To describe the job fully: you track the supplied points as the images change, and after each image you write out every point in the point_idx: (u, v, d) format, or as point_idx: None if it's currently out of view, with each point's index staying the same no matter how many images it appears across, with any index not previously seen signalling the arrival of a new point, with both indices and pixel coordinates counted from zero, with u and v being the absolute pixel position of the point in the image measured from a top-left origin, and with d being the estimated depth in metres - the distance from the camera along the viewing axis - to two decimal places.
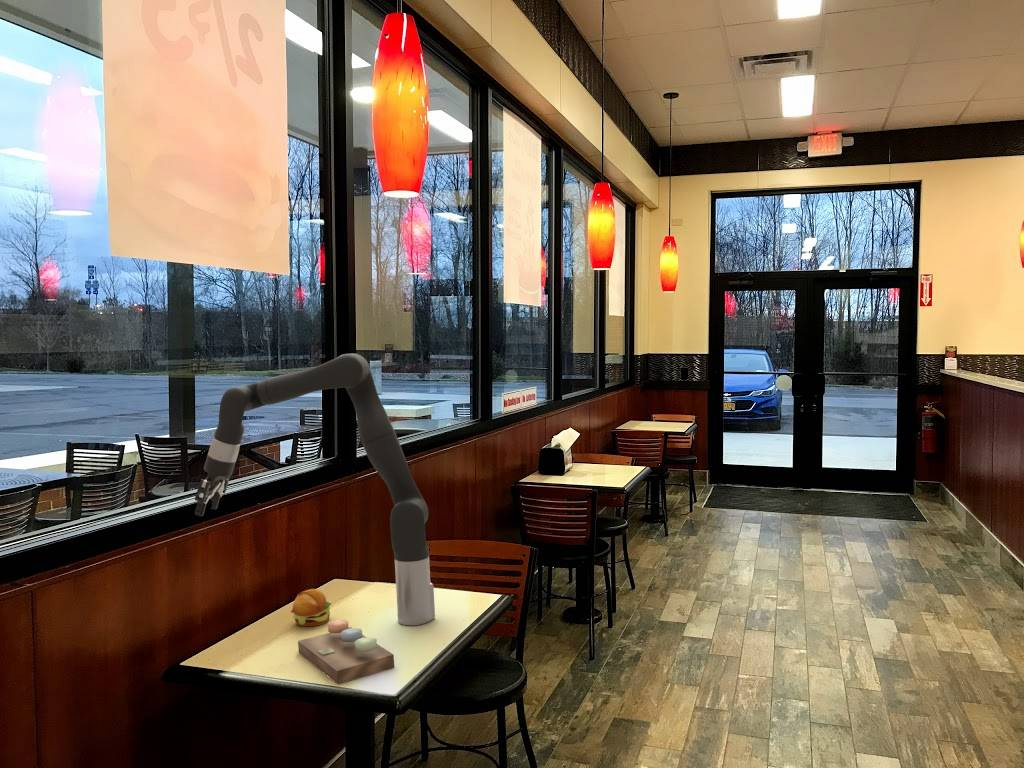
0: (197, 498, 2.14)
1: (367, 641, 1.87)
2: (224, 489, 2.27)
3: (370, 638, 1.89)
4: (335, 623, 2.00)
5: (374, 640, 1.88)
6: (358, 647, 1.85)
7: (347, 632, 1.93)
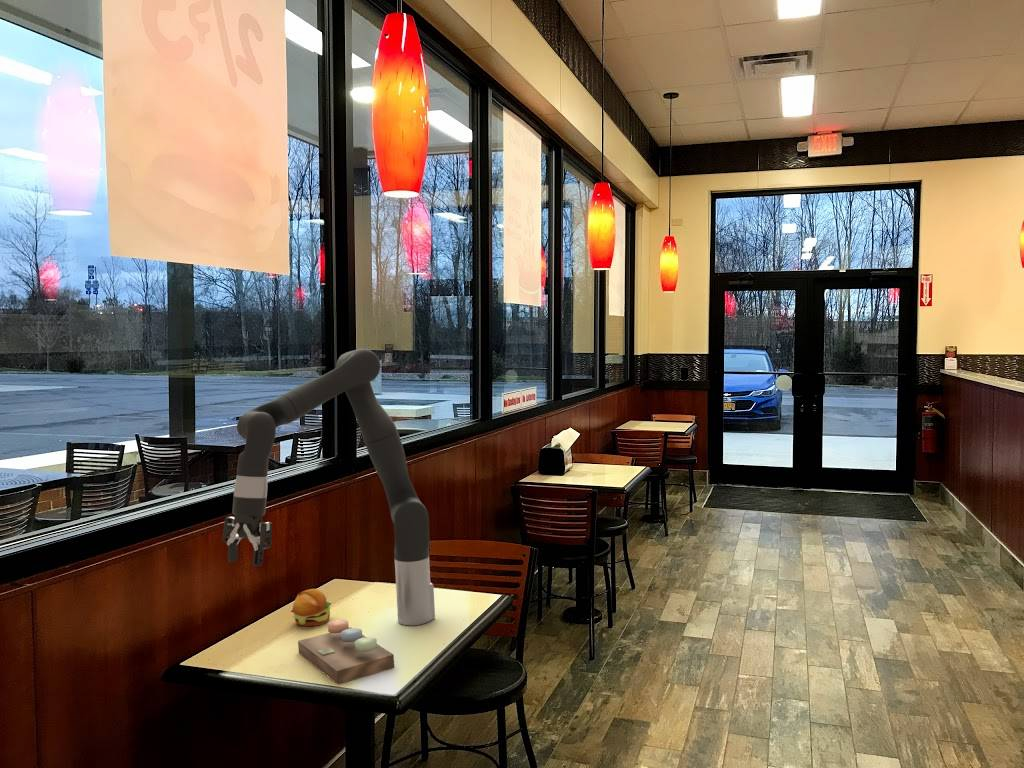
0: (265, 545, 1.88)
1: (367, 641, 1.87)
2: None
3: (370, 638, 1.89)
4: (335, 623, 2.00)
5: (374, 640, 1.88)
6: (358, 647, 1.85)
7: (347, 632, 1.93)
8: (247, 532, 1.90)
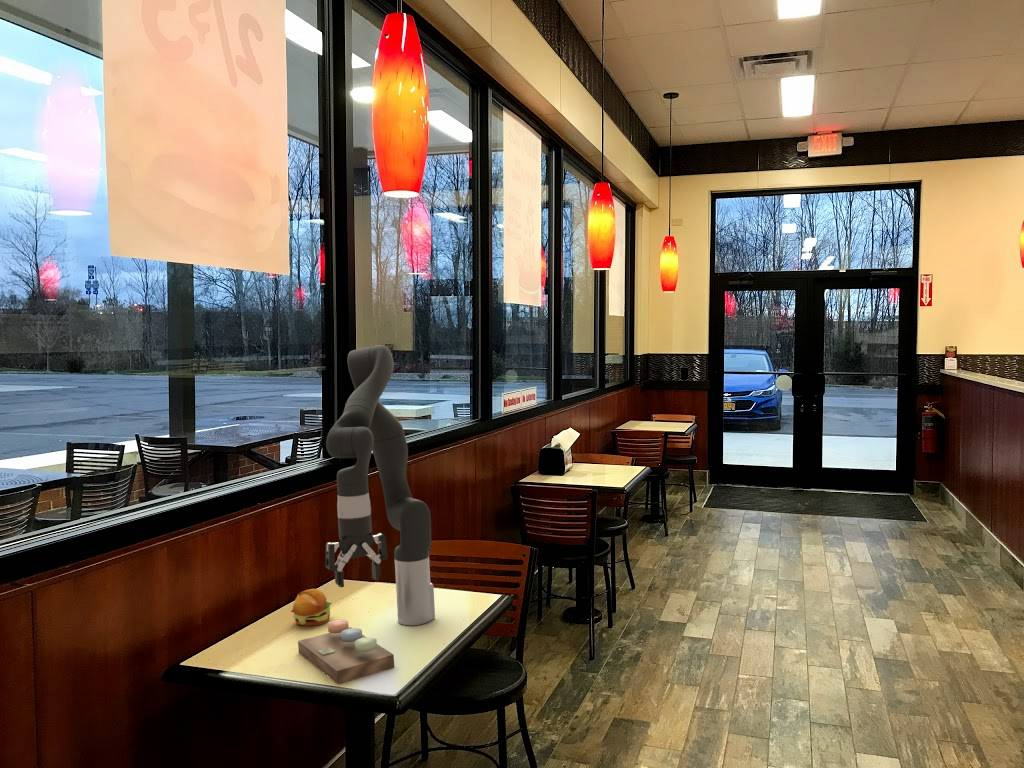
0: None
1: (367, 641, 1.87)
2: None
3: (370, 638, 1.89)
4: (335, 623, 2.00)
5: (374, 640, 1.88)
6: (358, 647, 1.85)
7: (347, 632, 1.93)
8: (367, 549, 1.86)
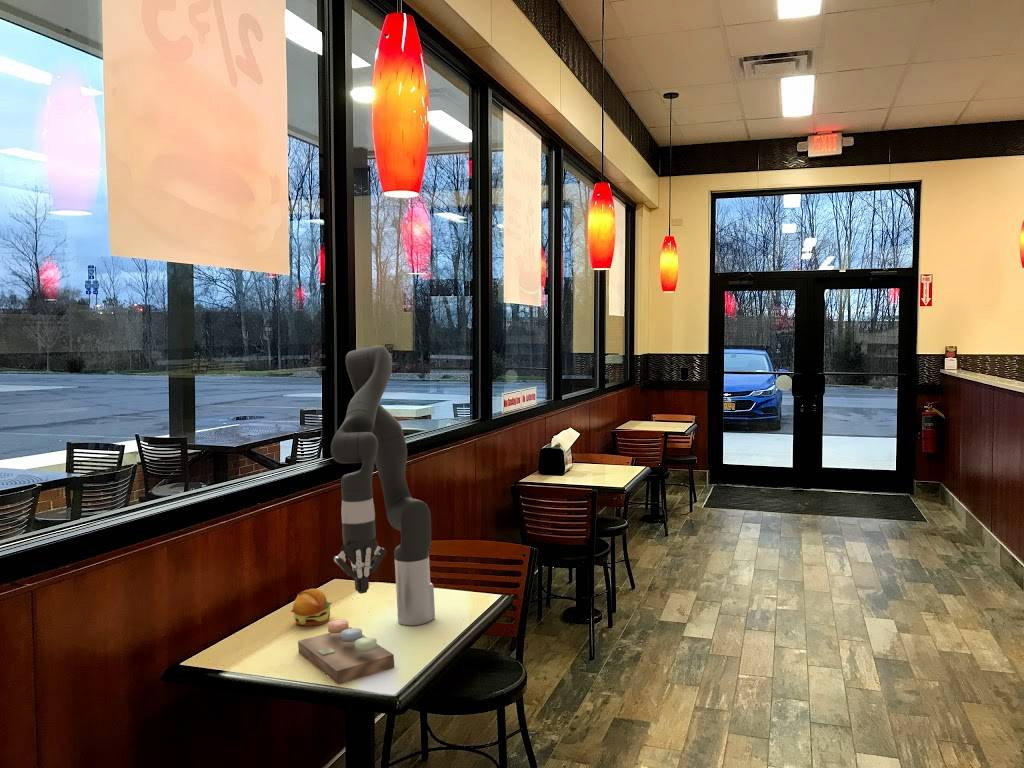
0: None
1: (367, 641, 1.87)
2: None
3: (370, 638, 1.89)
4: (335, 623, 2.00)
5: (374, 640, 1.88)
6: (358, 647, 1.85)
7: (347, 632, 1.93)
8: (367, 556, 1.86)
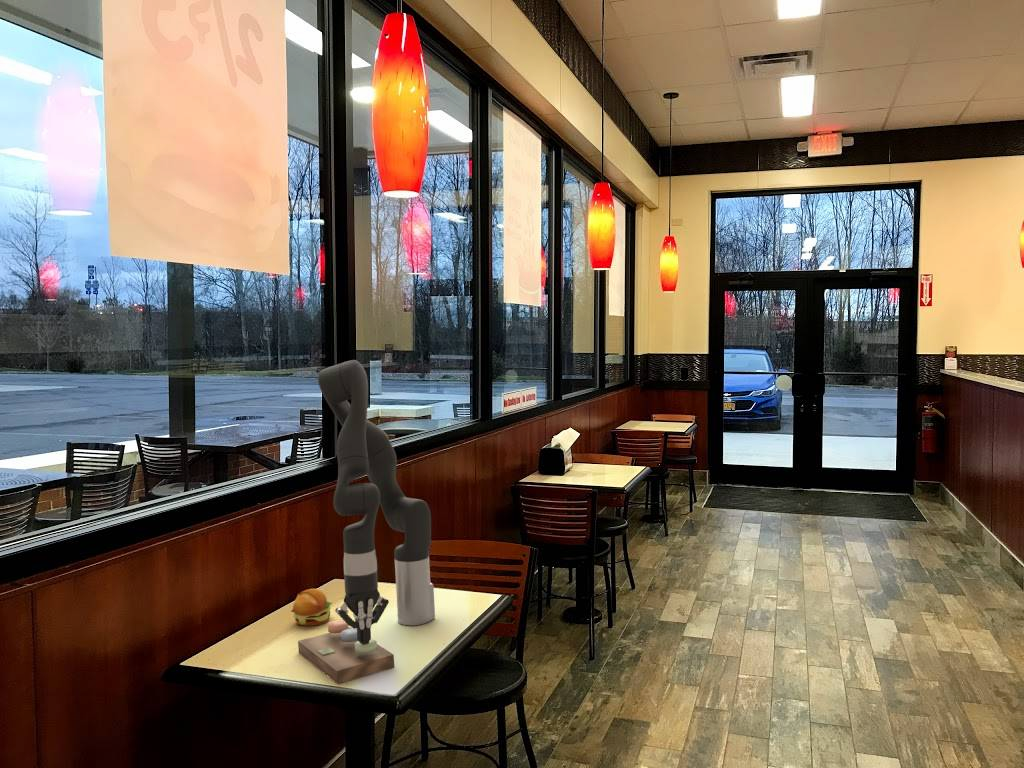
0: None
1: None
2: None
3: (370, 640, 1.89)
4: (335, 623, 2.00)
5: (374, 642, 1.88)
6: (358, 649, 1.85)
7: (347, 632, 1.93)
8: (369, 607, 1.86)
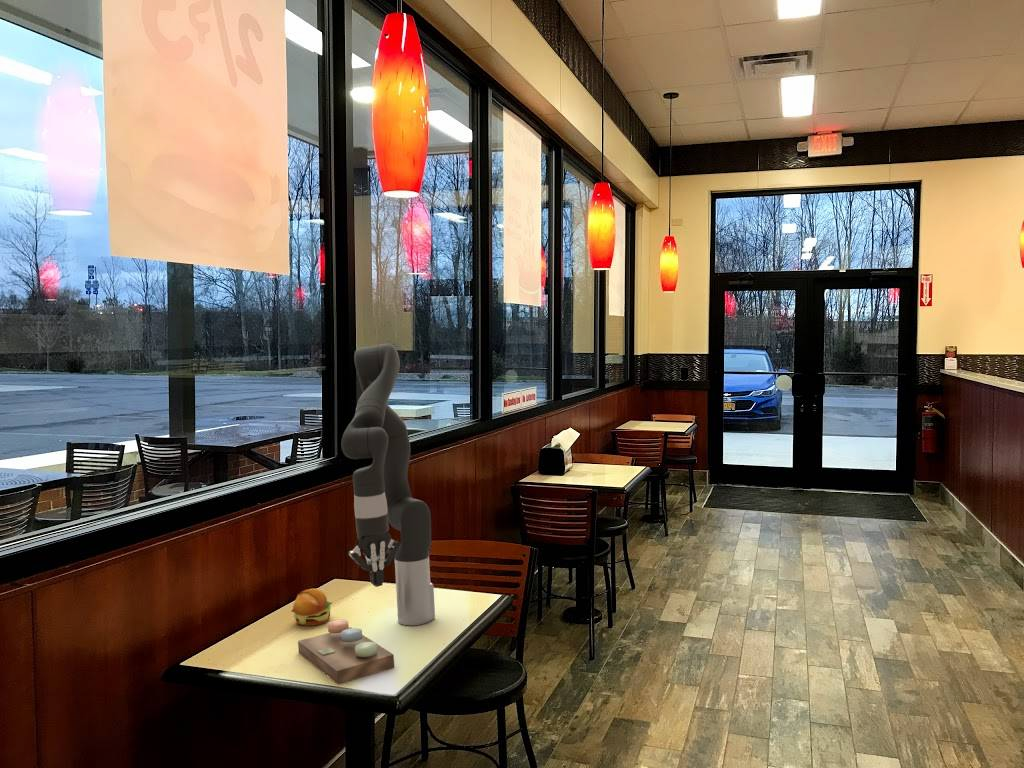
0: None
1: (367, 646, 1.87)
2: None
3: (370, 643, 1.89)
4: (335, 623, 2.00)
5: (374, 645, 1.88)
6: (358, 652, 1.85)
7: (347, 632, 1.93)
8: (381, 549, 1.87)
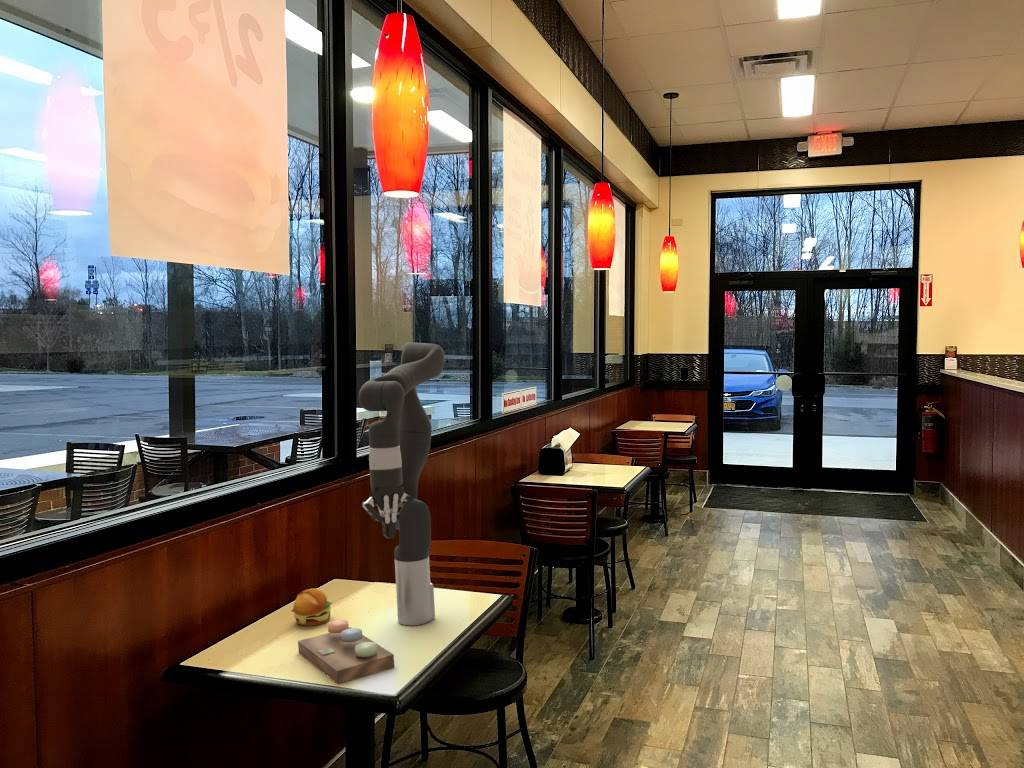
0: None
1: (367, 646, 1.87)
2: None
3: (370, 643, 1.89)
4: (335, 623, 2.00)
5: (374, 645, 1.88)
6: (358, 652, 1.85)
7: (347, 632, 1.93)
8: (394, 502, 1.90)
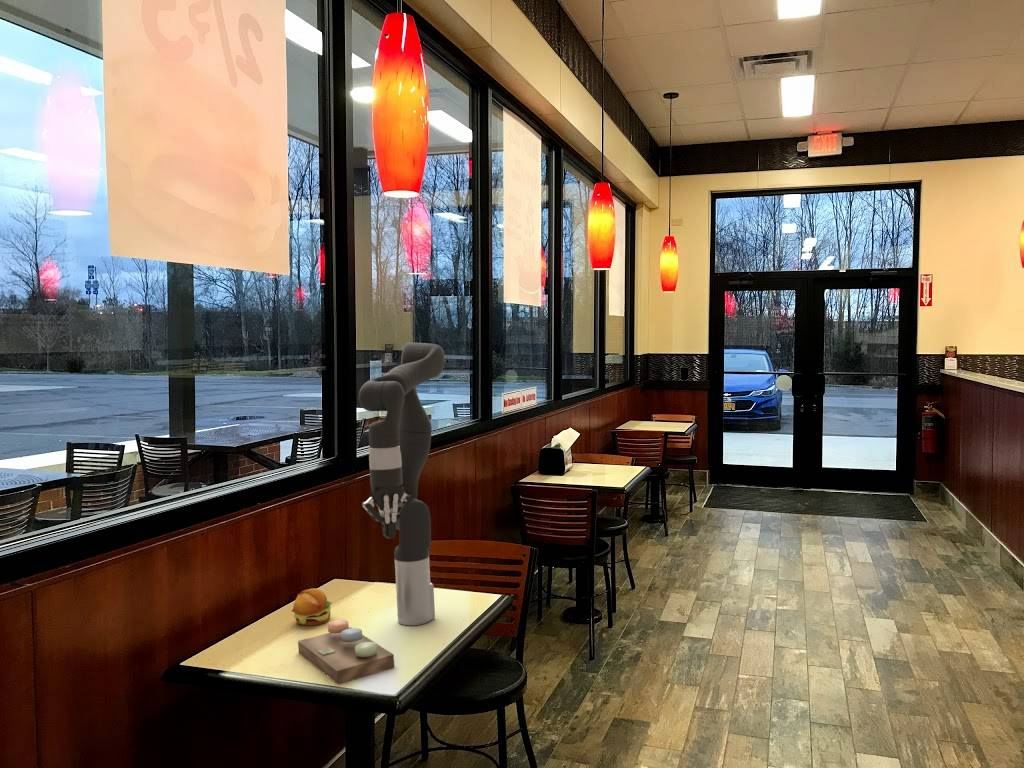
0: None
1: (367, 646, 1.87)
2: None
3: (370, 643, 1.89)
4: (335, 623, 2.00)
5: (374, 645, 1.88)
6: (358, 652, 1.85)
7: (347, 632, 1.93)
8: (394, 502, 1.90)
